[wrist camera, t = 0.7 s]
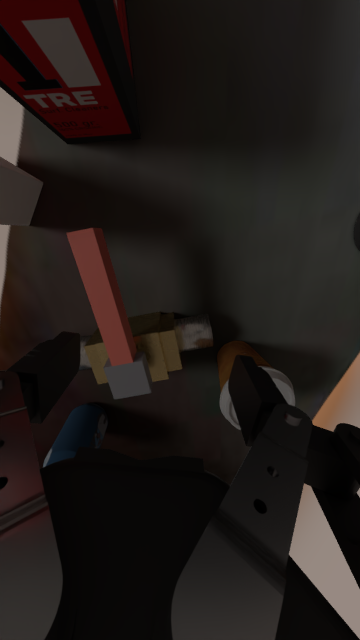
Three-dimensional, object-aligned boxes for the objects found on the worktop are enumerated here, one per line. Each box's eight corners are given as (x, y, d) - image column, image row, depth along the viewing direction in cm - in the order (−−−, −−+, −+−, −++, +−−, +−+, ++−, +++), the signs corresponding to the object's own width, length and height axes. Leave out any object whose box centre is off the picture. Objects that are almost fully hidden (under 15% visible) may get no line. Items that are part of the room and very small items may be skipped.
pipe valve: (204, 303, 36) (215, 326, 27) (210, 342, 38) (222, 375, 29) (49, 332, 36) (11, 364, 28) (65, 369, 39) (34, 408, 30)
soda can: (64, 416, 42) (26, 481, 31) (86, 393, 41) (55, 454, 30) (95, 434, 44) (69, 503, 33) (117, 414, 43) (98, 478, 32)
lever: (152, 378, 29) (151, 392, 27) (119, 384, 29) (114, 399, 27) (111, 226, 23) (103, 225, 20) (68, 234, 23) (55, 235, 20)
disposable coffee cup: (264, 329, 38) (303, 370, 26) (260, 377, 41) (294, 432, 30) (206, 333, 37) (221, 376, 26) (207, 382, 41) (221, 438, 30)
